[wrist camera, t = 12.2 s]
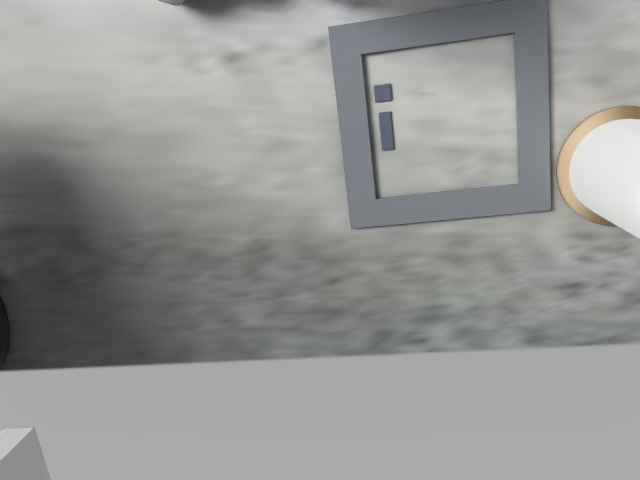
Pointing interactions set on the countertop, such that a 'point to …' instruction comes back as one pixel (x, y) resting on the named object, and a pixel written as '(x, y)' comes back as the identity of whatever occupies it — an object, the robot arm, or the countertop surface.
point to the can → (610, 173)
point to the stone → (173, 2)
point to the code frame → (376, 36)
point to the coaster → (571, 146)
